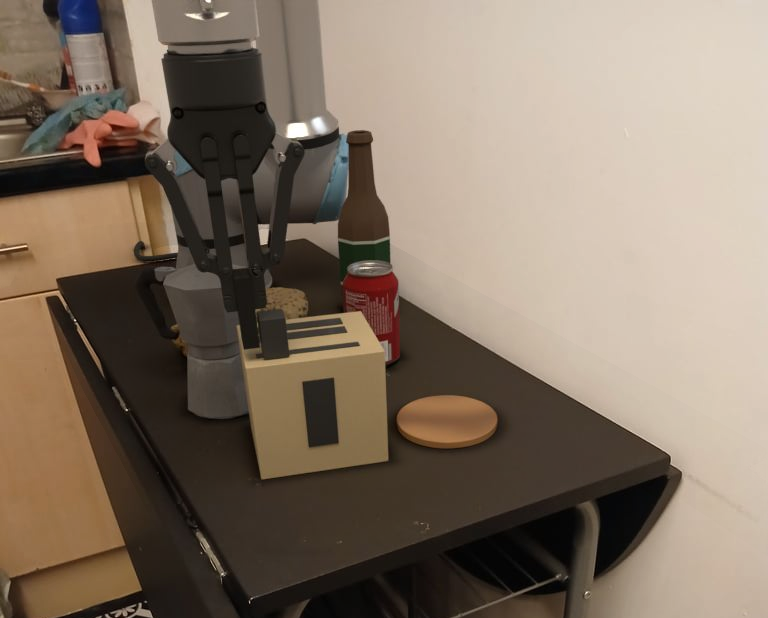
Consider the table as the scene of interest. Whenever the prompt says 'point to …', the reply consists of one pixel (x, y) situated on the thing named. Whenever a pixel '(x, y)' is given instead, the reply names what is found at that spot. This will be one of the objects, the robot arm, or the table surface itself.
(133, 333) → the table surface
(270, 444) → the toaster
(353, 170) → the beer bottle
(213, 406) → the coffeepot
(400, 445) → the table surface
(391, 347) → the soda can
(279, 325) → the browning slider
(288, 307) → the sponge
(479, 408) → the coaster
